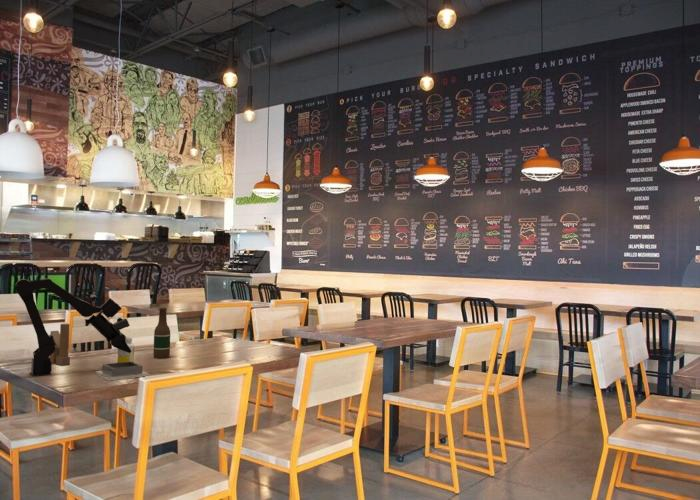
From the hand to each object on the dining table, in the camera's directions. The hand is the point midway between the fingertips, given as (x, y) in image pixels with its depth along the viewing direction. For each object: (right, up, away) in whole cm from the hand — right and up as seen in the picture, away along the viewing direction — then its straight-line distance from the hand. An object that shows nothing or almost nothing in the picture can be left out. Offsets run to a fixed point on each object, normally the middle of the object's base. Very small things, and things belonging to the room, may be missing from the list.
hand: (129, 351), depth 256 cm
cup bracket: (+2, -7, -15) cm, 16 cm away
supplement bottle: (-1, -7, -1) cm, 7 cm away
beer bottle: (+4, -8, +30) cm, 31 cm away
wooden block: (-33, -7, +6) cm, 35 cm away
